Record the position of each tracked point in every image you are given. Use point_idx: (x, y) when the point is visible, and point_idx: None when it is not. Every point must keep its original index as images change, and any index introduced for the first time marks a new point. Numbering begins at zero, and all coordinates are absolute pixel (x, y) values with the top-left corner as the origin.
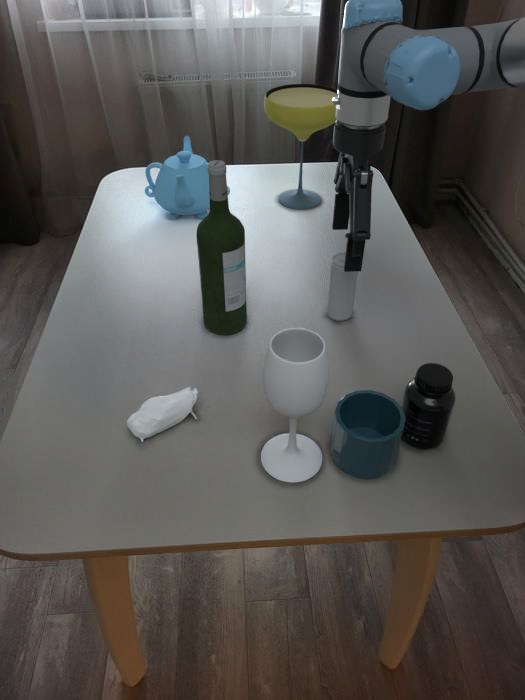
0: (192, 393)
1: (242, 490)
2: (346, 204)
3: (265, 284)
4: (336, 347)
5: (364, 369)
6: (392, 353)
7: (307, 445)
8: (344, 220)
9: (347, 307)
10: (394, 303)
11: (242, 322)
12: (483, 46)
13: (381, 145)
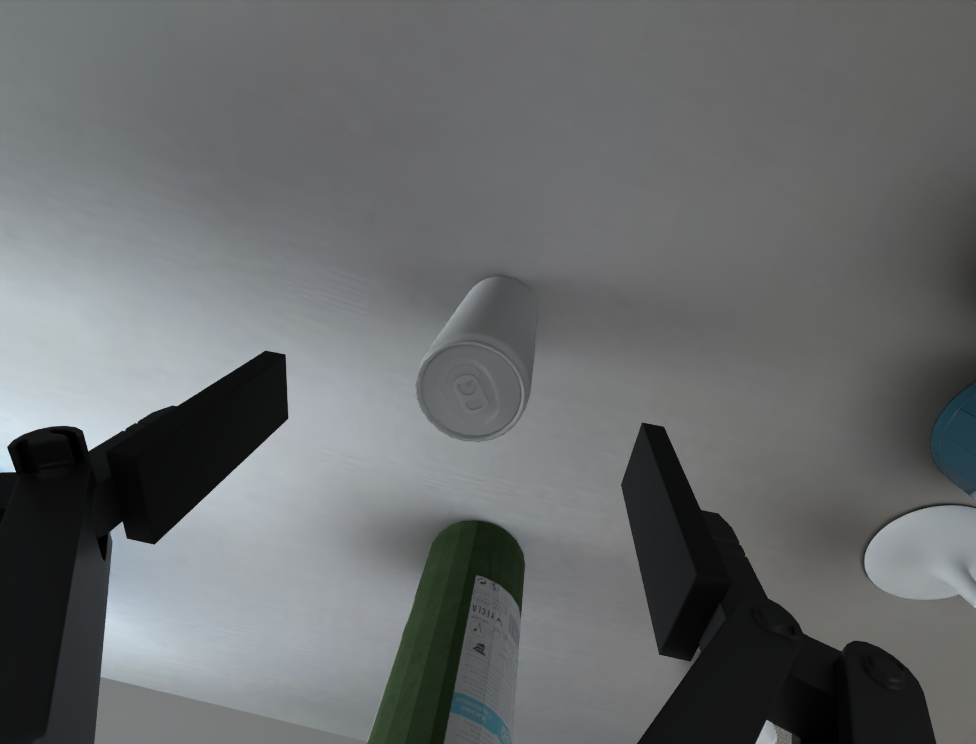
0: None
1: (950, 633)
2: (190, 445)
3: (340, 448)
4: (638, 364)
5: (752, 324)
6: (721, 219)
7: (943, 534)
8: (257, 395)
9: (535, 319)
10: (478, 106)
11: (510, 550)
12: None
13: None
